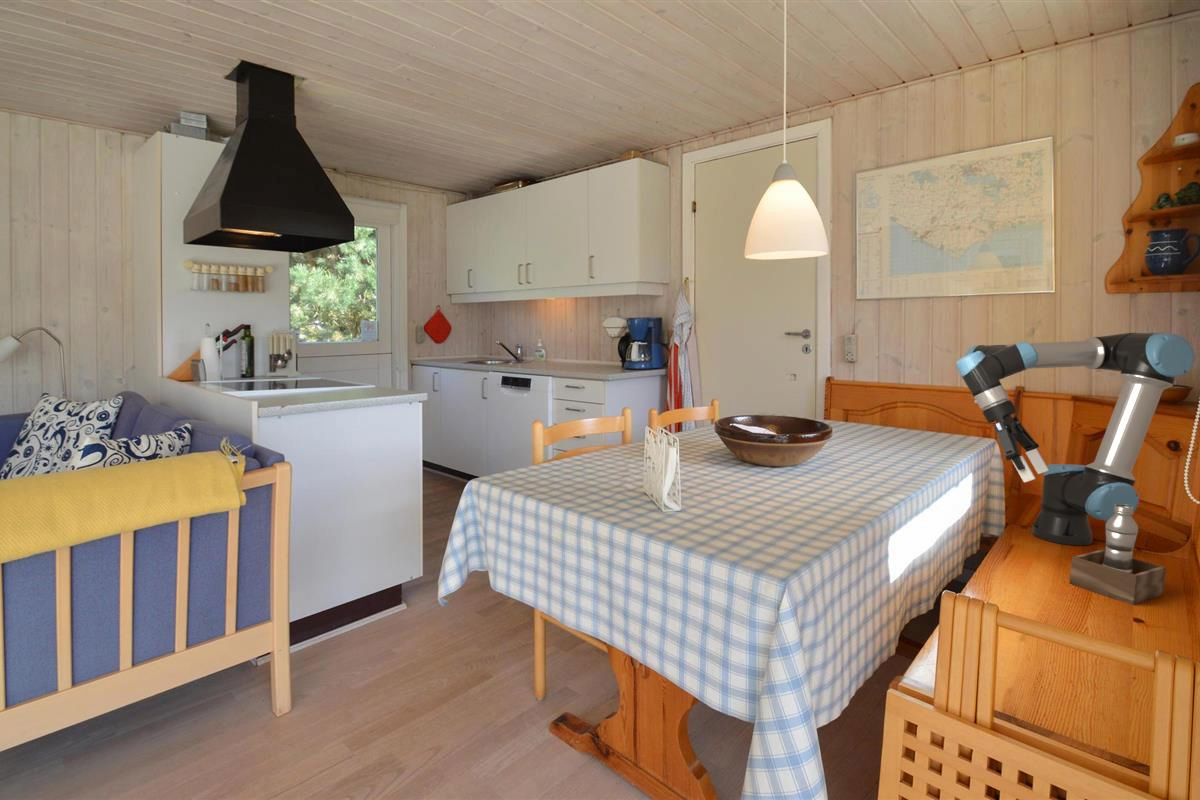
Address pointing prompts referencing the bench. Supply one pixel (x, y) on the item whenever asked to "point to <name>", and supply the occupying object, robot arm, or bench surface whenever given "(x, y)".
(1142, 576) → the walnut bottle box
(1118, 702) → the bench surface
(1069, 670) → the bench surface
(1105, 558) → the plastic bottle
